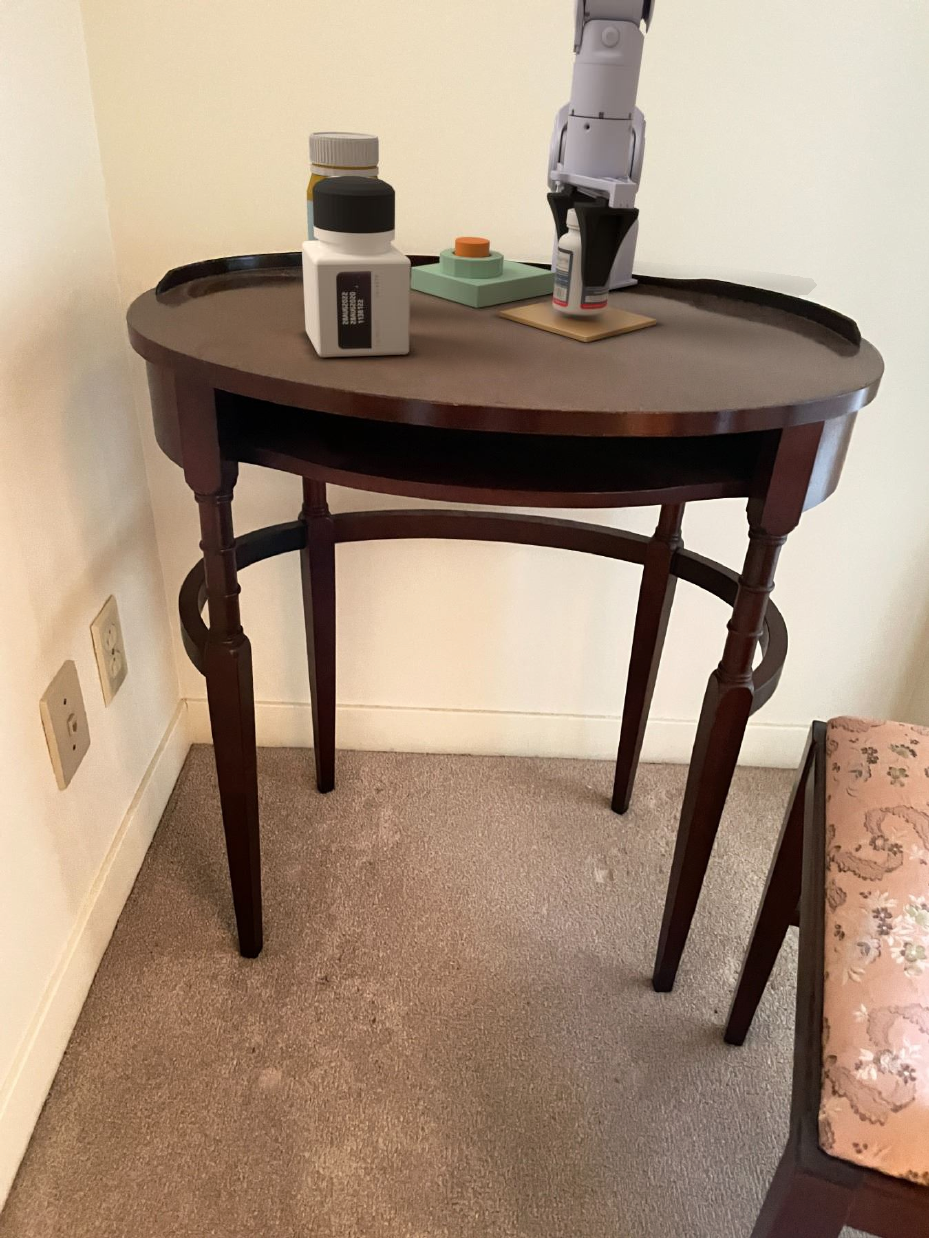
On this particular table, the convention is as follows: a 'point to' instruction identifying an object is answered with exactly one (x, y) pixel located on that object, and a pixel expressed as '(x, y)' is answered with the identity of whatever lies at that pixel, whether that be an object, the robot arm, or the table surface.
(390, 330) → the container
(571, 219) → the pill bottle
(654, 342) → the table surface
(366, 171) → the bottle
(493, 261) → the base
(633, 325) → the coaster
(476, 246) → the orange button cap
